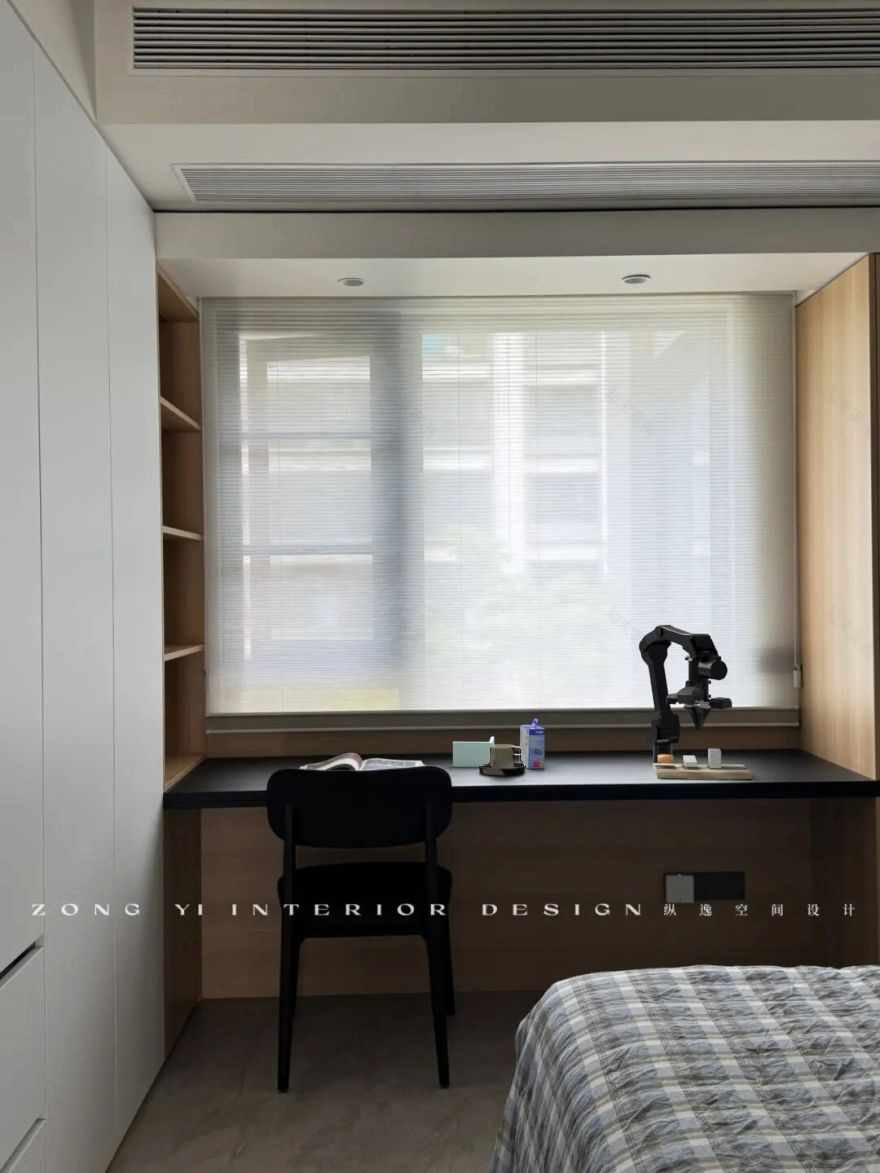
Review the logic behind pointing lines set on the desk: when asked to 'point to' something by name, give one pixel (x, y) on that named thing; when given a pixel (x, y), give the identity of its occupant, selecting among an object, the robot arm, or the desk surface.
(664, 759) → the orange button
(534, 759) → the ink cartridge box
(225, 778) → the desk surface
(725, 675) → the robot arm
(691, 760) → the block
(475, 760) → the right angle wall
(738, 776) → the control panel
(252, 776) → the desk surface
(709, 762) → the metal slider
